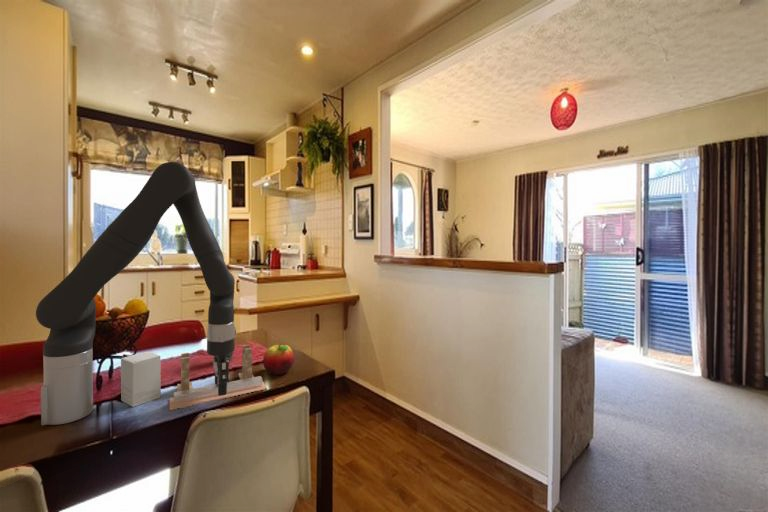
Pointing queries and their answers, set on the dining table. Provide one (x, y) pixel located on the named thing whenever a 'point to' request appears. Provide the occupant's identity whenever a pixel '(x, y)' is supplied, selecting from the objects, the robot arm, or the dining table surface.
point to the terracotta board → (214, 397)
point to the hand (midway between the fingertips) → (220, 389)
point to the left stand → (184, 374)
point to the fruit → (278, 359)
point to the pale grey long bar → (216, 389)
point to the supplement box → (140, 378)
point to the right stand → (246, 363)
